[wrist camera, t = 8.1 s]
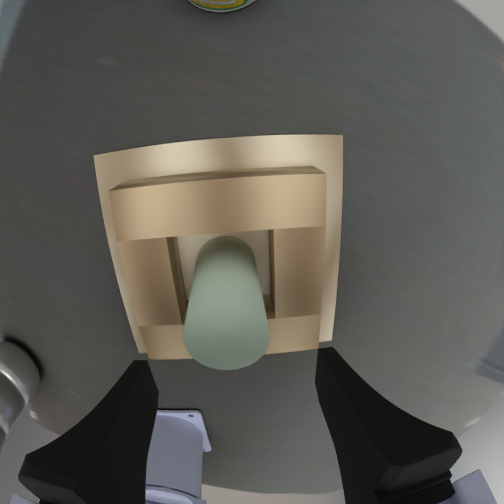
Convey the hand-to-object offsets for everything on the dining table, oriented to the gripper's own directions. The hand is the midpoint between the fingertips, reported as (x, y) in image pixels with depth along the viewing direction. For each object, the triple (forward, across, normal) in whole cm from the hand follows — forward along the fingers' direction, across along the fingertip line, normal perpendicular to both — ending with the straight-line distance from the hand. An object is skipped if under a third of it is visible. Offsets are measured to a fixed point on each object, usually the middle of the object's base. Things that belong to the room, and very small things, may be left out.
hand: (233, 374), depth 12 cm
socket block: (+10, 0, -1) cm, 10 cm away
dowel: (+10, 0, 0) cm, 10 cm away
